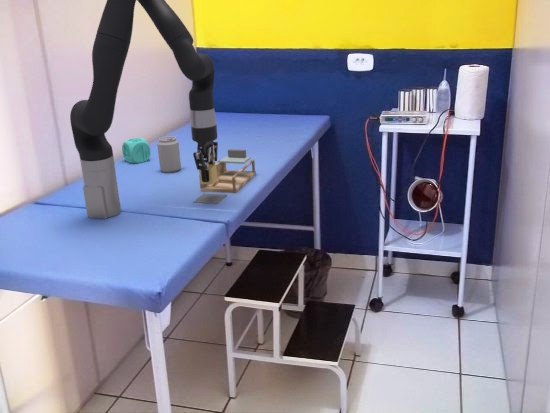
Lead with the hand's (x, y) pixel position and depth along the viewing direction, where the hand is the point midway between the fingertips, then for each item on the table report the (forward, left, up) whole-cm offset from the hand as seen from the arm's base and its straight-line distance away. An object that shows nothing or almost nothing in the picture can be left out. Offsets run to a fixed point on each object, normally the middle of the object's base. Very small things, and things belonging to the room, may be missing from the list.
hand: (208, 179), depth 184 cm
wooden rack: (+16, 0, -7) cm, 17 cm away
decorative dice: (+38, +46, -7) cm, 60 cm away
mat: (0, 0, -7) cm, 7 cm away
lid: (+23, 0, -1) cm, 23 cm away
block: (0, 0, -1) cm, 1 cm away
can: (+28, +27, -7) cm, 39 cm away
